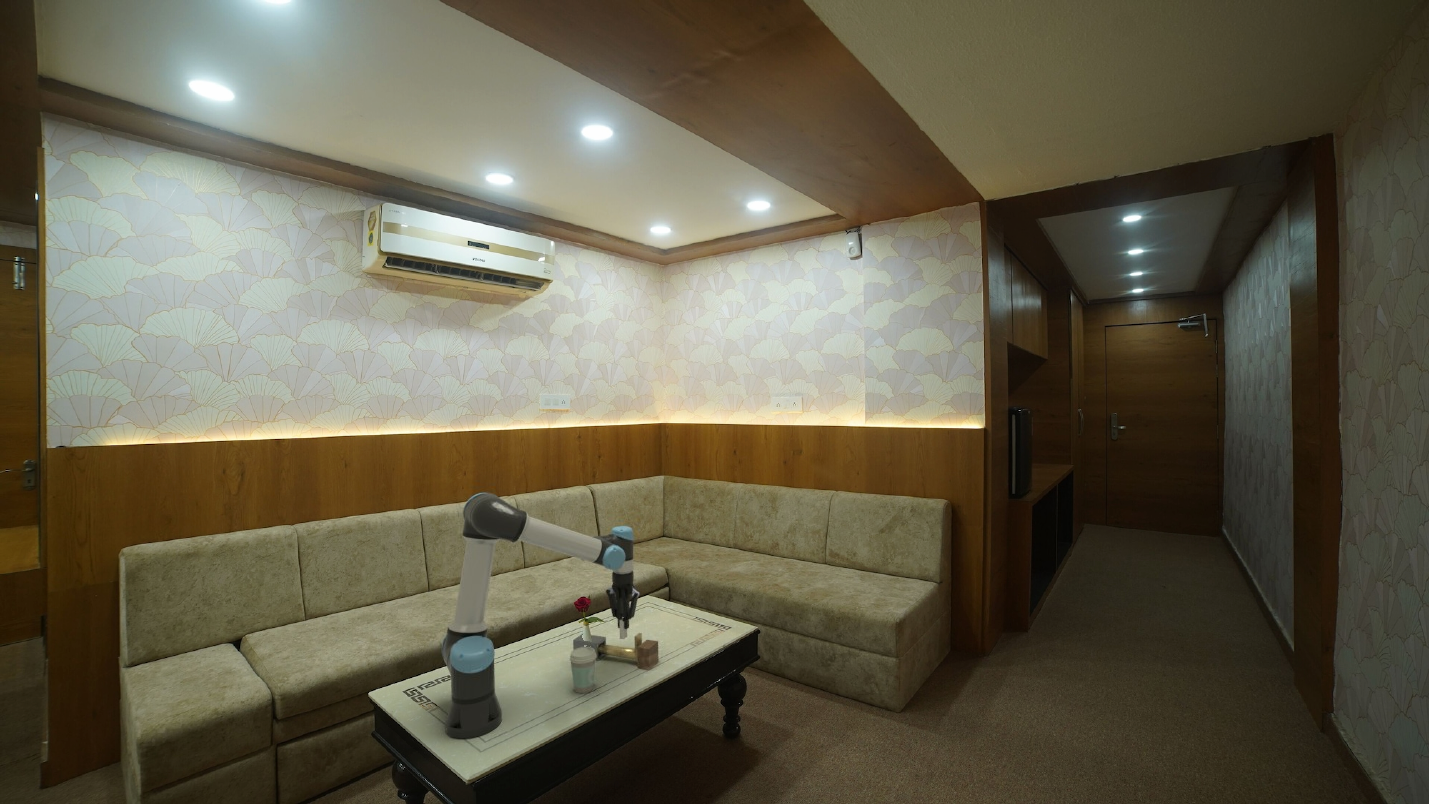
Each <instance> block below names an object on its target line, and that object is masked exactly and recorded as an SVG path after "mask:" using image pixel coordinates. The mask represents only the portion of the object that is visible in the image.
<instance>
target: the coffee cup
mask: <svg viewBox="0 0 1429 804" xmlns="http://www.w3.org/2000/svg"><path fill="white" fill-rule="evenodd" d="M596 657H597V655H596V652H595V650H594V649H593V648H591V647H581V648H577V649H575V650H572V651H571V653H570V655H569V662H570V666H571V673H572V681H573V687H574V691H575V693H578V694H586V693H590V692H591V691H593V689H594V682H595V672H596V671H595V670H596V662H597V661H596Z"/></svg>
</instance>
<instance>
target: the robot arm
mask: <svg viewBox="0 0 1429 804" xmlns="http://www.w3.org/2000/svg"><path fill="white" fill-rule="evenodd" d="M462 516H463V519H464V523H463V528H462V535H461V536H462V538H463V539H464V540H465V541H466V542H465V543H466V544H465V550H464V556H463V562H462V568H461V576H460V582H459V588H458V595H457V600H456V607H455V613H454V619H453V620H452V621H451V622H449V624H448V625H447V630H446V634H445V636H444V638H443V640H442V644H441V656H442V659H443V661H444V663H445V664H446V667H447V670H448V672H449V674H450V681H451V682H450V685H451V686H450V687H451V692H450V693H451V702H450V705H449V709H448V713H447V716H446V719H445V733H446V734H447V735H448V736H449V737H451V738H454V739H473V738H477V737H480V736H483V735H486V734H487V733H490V732H492V731H494V730H495V729H497V727H499V725H500V724H501V722H502V720H503V710H502V707H501V705H500V702H499V700H498V697H497V695H496V680H495V677H496V675H495V654H496V653H495V649H494V644H493V641H492V640H491V639H490V638H488V637H487V636H488V629H489V625H488V623H487V622H486V621H485V615H486V608H487V604H488V603H487V601H488V595H489V587H490V582H491V576H492V575H491V574H492V569H493V563H494V557H495V556H494V555H495V550H496V544H497V543H498V542H499V541H501V540H503V541H508V542H509V543H514V544H516V543H518V542H523V543H527V544H528V545H529V544H530V545H533V546H536V547H540V548H543V549H547V550H549V551H554V552H557V553H559V554H562V555H563V554H564V555H566V556H570V557H573V558H577V559H580V560H581V561H587V562H589V563H592V564H595V565H599V566H601V567H604V568H606V569H608V570H612V572H611V576H612V577H611V578H612V579H611V580H612V585H611V587H609V588H608V589H605V593H606V595H607V598H608V600H609V601H608V602H609V606H610V610H611V615H612V617H613V618H615V619H617V628H618V629H619V639H620V640H625V639H626V638H627V637H628V629H629V628H630V620H631V619H633V618H634V617H635V614H636V609H637V603H638V600H639V596H640V595H641V591H639V590H638V591H637V590H636V589H635V585H634V567H635V566H634V565H635V564H634V531H633V528H632V527H630V526H627V525H623V526H622V525H620V526H616V527H612V528H611V532H610V534H605V535H596V536H590V535H586V534H583V533H581V532H579V531H578V532H577V531H574V530H571V529H568V528H565V527H562V526H559V525H556V524H554V523H550V522H547V521H544V520H542V519H538V518H536V517H532V516H530V515H529V514H528V512H527V511H526V510H521V509H519V508H517V507H515V506H513V505H511V504H510V503H508V502H507V501H506V500H504V499H502V498H500V497H499V496H497V495H496V494H494V493H490V492H480V493H477V494H474V495H473V496H471V497H469V499H468V500H467V501H466V502H465V504H464V507H463V510H462ZM631 596H632V597H631Z"/></svg>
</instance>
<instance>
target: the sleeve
mask: <svg viewBox="0 0 1429 804" xmlns="http://www.w3.org/2000/svg"><path fill="white" fill-rule="evenodd" d="M583 634H584V633H581V634H580V635H578V636H577V637H575V638H574V639H573V640H572V641H573V642H572V645H573V648H572V649H573V650H575V649H577V648H581V647H584V645H587V646H586V647H590V646H591V648H593V649H594V650H595V652H596V655H597V657H596V661H595V662H598V661H599V660H601V658H603V657H604V656H605V655H603V654H598V645H600V644H605V645H607V637H606V636H599V635H596V634H595V635H593V634H590V635H591V639H592V642H590V641H584V640H583V638H582V635H583ZM573 650H572V651H573Z"/></svg>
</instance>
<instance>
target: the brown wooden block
mask: <svg viewBox="0 0 1429 804" xmlns="http://www.w3.org/2000/svg"><path fill="white" fill-rule="evenodd" d="M637 658H638V662H637V669H640V670H647V671H650V670H651V669H653V667H654V666H656V664H658V662H659V640H652V639H646V640H644V641H642V644H641V645H640V646H638V647H637Z"/></svg>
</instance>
